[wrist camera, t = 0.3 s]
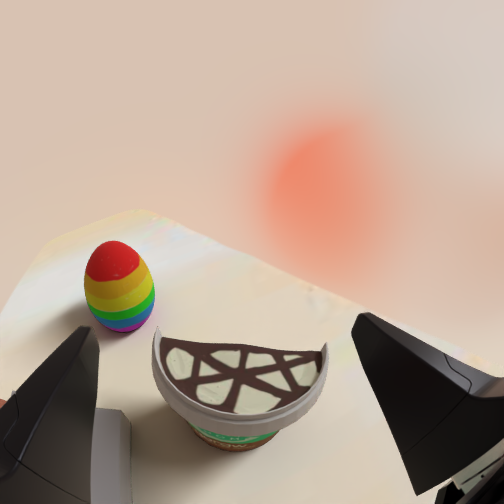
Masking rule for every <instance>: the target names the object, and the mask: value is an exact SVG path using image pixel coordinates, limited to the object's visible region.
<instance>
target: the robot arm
mask: <svg viewBox="0 0 504 504" xmlns="http://www.w3.org/2000/svg"><path fill="white" fill-rule="evenodd" d="M351 335H352V338H353V341H354V344H355V347H356V349H357V352H358V355H359V358H360V361H361V364H362V366H363V369H364V371H365V374H366V376H367V378H368V380H369V382H370V385H371V387H372V389H373V391H374V393H375V396H376V398H377V400H378V402H379V405H380V407H381V409H382V412H383V414H384V416H385V418H386V421H387V423H388V425H389V428H390V430H391V433H392V435H393V437H394V440H395V442H396V445H397V447H398V450H399V452H400V455H401V458H402V460H403V463H404V465H405V468H406V470H407V473H408V476H409V478H410V481H411V484H412V486H413V489H414V492H415V494H416V496H418V495H420V494H422V493H424V492H426V491H428V490H430V489H431V488H433V487H435V486H437V485H439V484H440V483H442V482H444V481H445V480H447V479H449V478H450V477H451V478H452V480H451V481H449V482H448V483H447V484H446V485H444V486H443V487H442V488H441V489H439V490H438V493H437V497H436V500H435V504H504V377H502V378H500V377H494V376H491V375H489V374H486V373H484V372H482V371H480V370H477V369H475V368H473V367H471V366H469V365H467V364H464V363H462V362H460V361H458V360H456V359H454V358H453V357H451V356H449V355H447V354H445V353H443V352H441V351H440V350H438V349H436V348H434V347H432V346H430V345H429V344H427V343H425V342H423V341H421V340H419V339H418V338H416V337H414V336H412V335H410V334H408V333H406V332H405V331H403V330H401V329H399V328H397V327H395V326H394V325H392V324H390V323H388V322H386V321H384V320H383V319H381V318H379V317H377V316H375V315H373V314H371V313H369V312H366V313H360V314H359V315H358V316H357V318H356V321H355V323H354V326H353V328H352V331H351ZM99 352H100V350H99V344H98V341H97V338H96V335H95V332H94V329H93V328H92V327H91V326H80V327H78V328H77V329H76V330H75V331H74V332H73V333H72V334H71V335H70V336H69V337H68V338H67V339H66V340H65V341H64V342H63V343H62V344H61V345H60V346H59V347H58V348H57V349H56V350H55V351H54V352H53V353H52V354H51V355H50V356H49V357H48V358H47V359H46V360H45V361H44V362H43V363H42V364H41V365H40V366H39V367H38V368H37V369H36V370H35V371H34V372H33V373H32V374H31V375H30V377H29V378H28V379H27V380H26V381H25V382H24V383H23V384H22V385H21V386H20V387H19V388H18V390H17V391H16V392H15V393H14V394H13V395H12V396H11V397H10V398H9V399H8V401H7V402H6V403H5V404H4V405H3V406H2V407H1V408H0V504H91V452H92V437H93V425H94V416H95V407H96V400H97V388H98V367H99Z"/></svg>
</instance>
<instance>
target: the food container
mask: <svg viewBox="0 0 504 504" xmlns="http://www.w3.org/2000/svg"><path fill="white" fill-rule="evenodd" d="M328 362H329V353H328V346H327V342H326V343H325V344H324V346H323V348H322V349H321V351H285V350H276V349H270V348H264V347H258V346H252V345H246V344H228V343H199V342H191V341H184V340H177V339H172V338H166V337H162V335H161V332H160V330H159V327H158V326H157V329H156V332H155V334H154V338H153V344H152V370H153V376H154V379H155V382H156V385H157V387H158V390H159V391H160V393H161V394H162V396H163V398H164V399H165V401H166V402H167V403H168V404H169V405H170V406H171V407H172V409H173V410H174V411H175V412H177V413H178V414H179V415H180V416H182V417H183V418H184V419H186V420H187V422H188V423H189V425H190V426H191V428H192V429H193V431H194V432H195V434H196V435H197V436H198V437H199V438H201V439H202V440H203V441H205V442H206V443H207V444H209V445H211V446H213V447H216V448H219V449H221V450H226V451H247V450H251V449H255V448H257V447H260V446H262V445H264V444H265V443H267V442H268V441H269V440H271V439H272V438H273V437H274V436H275V435H276V434H277V433H278V432H279V430H280V429H283V428H285V427H287V426H289V425H290V424H292V423H294V422H296V421H297V420H298V419H300V418H301V417H302V416H303V415H305V414H306V413H307V412H308V411H309V410H310V409H311V407H312V406H313V405H314V404H315V403H316V401H317V399H318V398H319V396H320V394H321V392H322V390H323V387H324V384H325V381H326V375H327V370H328Z"/></svg>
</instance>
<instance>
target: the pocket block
mask: <svg viewBox="0 0 504 504" xmlns="http://www.w3.org/2000/svg"><path fill="white" fill-rule="evenodd" d="M15 392H16V391H12V394H11V396H12V395H13V394H14V393H15ZM130 445H131V423H130V422H129V420H128V419H127V418H126V416H125V415H124V413H123V412H122V411H121V410H112V409H103V408H95V416H94V425H93V437H92V452H91V504H132V492H131V462H130Z"/></svg>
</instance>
